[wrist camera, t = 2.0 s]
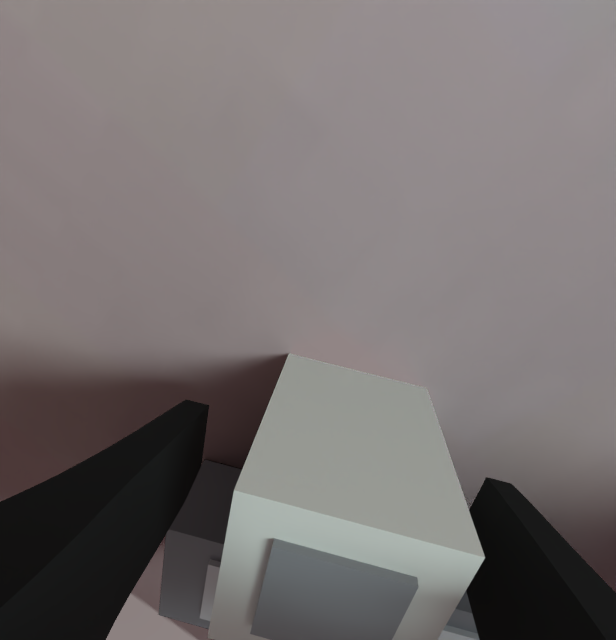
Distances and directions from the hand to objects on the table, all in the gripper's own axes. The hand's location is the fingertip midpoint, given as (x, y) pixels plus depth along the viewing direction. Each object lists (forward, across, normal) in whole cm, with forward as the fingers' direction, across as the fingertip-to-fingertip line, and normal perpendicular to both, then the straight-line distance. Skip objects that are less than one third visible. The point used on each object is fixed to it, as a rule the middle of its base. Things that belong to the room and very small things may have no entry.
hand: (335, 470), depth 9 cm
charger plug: (+2, 0, 0) cm, 2 cm away
